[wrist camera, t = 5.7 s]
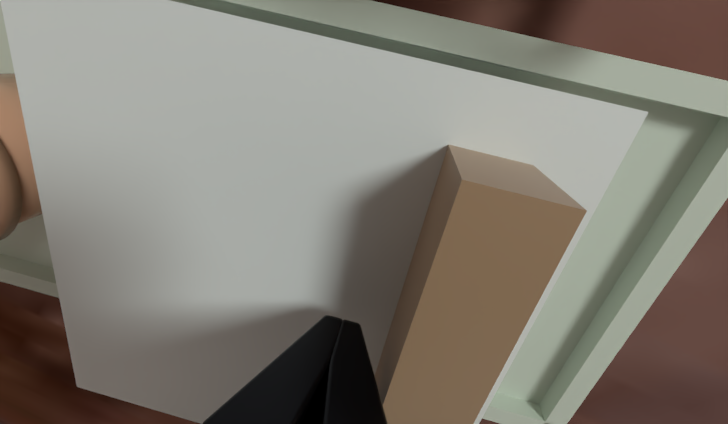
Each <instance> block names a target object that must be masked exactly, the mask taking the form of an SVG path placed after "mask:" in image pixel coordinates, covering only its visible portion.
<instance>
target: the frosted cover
mask: <svg viewBox="0 0 728 424" xmlns="http://www.w3.org/2000/svg"><path fill="white" fill-rule="evenodd" d="M0 2H1V7H2V12H3V17H4V22H5V28H6V33H7V38H8V43H9V48H10V53H11V58H12V63H13V68H14V73H15V78H16V83H17V88H18V93H19V98H20V103H21V108H22V113H23V118H24V123H25V128H26V133H27V138H28V143H29V148H30V154H31V159H32V164H33V169H34V174H35V179H36V184H37V189H38V194H39V199H40V204H41V209H42V214H43V219H44V224H45V229H46V234H47V239H48V244H49V249H50V254H51V259H52V264H53V269H54V274H55V280H56V285H57V290H58V295H59V300H60V305H61V310H62V315H63V320H64V325H65V330H66V335H67V340H68V345H69V350H70V355H71V360H72V365H73V370H74V375H75V380H76V385H77V387H79V388H83V389H86V390H89V391H93V392H96V393H99V394H103V395H106V396H109V397H113V398H116V399H120V400H123V401H126V402H130V403H133V404H136V405H140V406H143V407H146V408H150V409H153V410H157V411H160V412H163V413H167V414H170V415H173V416H177V417H180V418H183V419H187V420H190V421H193V422H197V423H200V424H203V422H204V421H205V420H206V419H207V418H208V417H209V416H210V415H212V414H213V413H214V412H215V411H216V410H217V409H218V408H220V407H221V406H222V405H223V404H224V403H225V402H226V401H228V400H229V399H230V398H231V397H232V396H233V395H234V394H236V393H237V392H238V391H239V390H240V389H241V388H242V387H244V386H245V385H246V384H247V383H248V382H249V381H250V380H252V379H253V378H254V377H255V376H256V375H257V374H258V373H260V372H261V371H262V370H263V369H264V368H265V367H266V366H268V365H269V364H270V363H271V362H272V361H273V360H274V359H276V358H277V357H278V356H279V355H280V354H281V353H282V352H284V351H285V350H286V349H287V348H288V347H289V346H290V345H292V344H293V343H294V342H295V341H296V340H297V339H298V338H300V337H301V336H302V335H303V334H304V333H305V332H306V331H308V330H309V329H310V328H311V327H312V326H313V325H314V324H316V323H317V322H318V321H319V320H320V319H321V318H322V317H324V316H325V315H331V316H334V317H338V318H341V319H342V320H344V319H345V320H349V321H353V322H357V323H359V324H360V325H361V328H362V332H363V336H364V339H365V343H366V346H367V350H368V354H369V357H370V361H371V365H372V368H373V372H374V376H375V379H376V383H377V387H378V390H379V394H380V398H381V401H382V405H383V409H384V412H385V416H386V420H387V423H388V424H479V423H480V421H481V419H482V417H483V415H484V414H485V412H486V410H487V408H488V406H489V404H490V403H491V401H492V399H493V397H494V395H495V393H496V392H497V390H498V388H499V386H500V384H501V382H502V381H503V379H504V377H505V375H506V373H507V371H508V370H509V368H510V366H511V364H512V362H513V360H514V359H515V357H516V355H517V353H518V351H519V349H520V348H521V346H522V344H523V342H524V340H525V338H526V337H527V335H528V333H529V331H530V329H531V327H532V325H533V324H534V322H535V320H536V318H537V316H538V314H539V313H540V311H541V309H542V307H543V305H544V303H545V302H546V300H547V298H548V296H549V294H550V292H551V291H552V289H553V287H554V285H555V283H556V281H557V280H558V278H559V276H560V274H561V272H562V270H563V269H564V267H565V265H566V263H567V261H568V259H569V258H570V256H571V254H572V252H573V250H574V248H575V247H576V245H577V243H578V241H579V239H580V237H581V235H582V234H583V232H584V230H585V228H586V226H587V224H588V223H589V221H590V219H591V217H592V215H593V213H594V212H595V210H596V208H597V206H598V204H599V202H600V201H601V199H602V197H603V195H604V193H605V191H606V190H607V188H608V186H609V184H610V182H611V180H612V179H613V177H614V175H615V173H616V171H617V169H618V168H619V166H620V164H621V162H622V160H623V158H624V157H625V155H626V153H627V151H628V149H629V147H630V146H631V144H632V142H633V140H634V138H635V136H636V134H637V133H638V131H639V129H640V127H641V125H642V123H643V122H644V120H645V118H646V116H647V114H648V112H647V111H642V110H638V109H634V108H629V107H625V106H621V105H617V104H612V103H608V102H604V101H599V100H595V99H591V98H587V97H582V96H578V95H574V94H569V93H565V92H561V91H557V90H552V89H548V88H544V87H539V86H535V85H531V84H527V83H522V82H518V81H514V80H509V79H505V78H501V77H497V76H492V75H488V74H484V73H479V72H475V71H471V70H467V69H462V68H458V67H454V66H449V65H445V64H441V63H437V62H432V61H428V60H424V59H419V58H415V57H411V56H407V55H402V54H398V53H394V52H389V51H385V50H381V49H376V48H372V47H368V46H364V45H359V44H355V43H351V42H346V41H342V40H338V39H334V38H329V37H325V36H321V35H316V34H312V33H308V32H304V31H299V30H295V29H291V28H286V27H282V26H278V25H274V24H269V23H265V22H261V21H256V20H252V19H248V18H244V17H239V16H235V15H231V14H226V13H222V12H218V11H214V10H209V9H205V8H201V7H196V6H192V5H188V4H184V3H179V2H175V1H171V0H0Z"/></svg>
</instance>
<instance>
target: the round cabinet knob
mask: <svg viewBox="0 0 728 424" xmlns="http://www.w3.org/2000/svg"><path fill="white" fill-rule="evenodd" d="M41 214H42V209H41V204H40V199H39V194H38V189H37V184H36V179H35V174H34V169H33V164H32V159H31V154H30V148H29V143H28V138H27V133H26V128H25V123H24V118H23V113H22V108H21V103H20V98H19V93H18V88H17V83H16V78H15V73H0V240H3V239H5V238H6V237H7V236H9V235H10V234H11V233H12V232H13V231H14V230H15V228H16V226H17V225H18V223H21V222H23V221H26V220H28V219H31V218H34V217H36V216H39V215H41Z"/></svg>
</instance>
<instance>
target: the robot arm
mask: <svg viewBox="0 0 728 424" xmlns="http://www.w3.org/2000/svg"><path fill="white" fill-rule="evenodd" d="M203 424H388V423H387V420H386V416H385V412H384V409H383V405H382V401H381V398H380V394H379V390H378V387H377V383H376V379H375V376H374V372H373V368H372V365H371V361H370V357H369V354H368V350H367V346H366V343H365V339H364V336H363V332H362V328H361V325H360V324H359V323H357V322H353V321H349V320H345V319H344V320H342V319H341V318H338V317H334V316H331V315H325V316H324V317H322V318H321V319H320V320H319V321H318V322H317V323H316V324H314V325H313V326H312V327H311V328H310V329H309V330H308V331H306V332H305V333H304V334H303V335H302V336H301V337H300V338H298V339H297V340H296V341H295V342H294V343H293V344H292V345H290V346H289V347H288V348H287V349H286V350H285V351H284V352H282V353H281V354H280V355H279V356H278V357H277V358H276V359H274V360H273V361H272V362H271V363H270V364H269V365H268V366H266V367H265V368H264V369H263V370H262V371H261V372H260V373H258V374H257V375H256V376H255V377H254V378H253V379H252V380H250V381H249V382H248V383H247V384H246V385H245V386H244V387H242V388H241V389H240V390H239V391H238V392H237V393H236V394H234V395H233V396H232V397H231V398H230V399H229V400H228V401H226V402H225V403H224V404H223V405H222V406H221V407H220V408H218V409H217V410H216V411H215V412H214V413H213V414H212V415H210V416H209V417H208V418H207V419H206V420H205V421H204V422H203Z"/></svg>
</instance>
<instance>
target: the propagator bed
mask: <svg viewBox="0 0 728 424" xmlns="http://www.w3.org/2000/svg"><path fill="white" fill-rule="evenodd" d="M171 1H175V2H179V3H184V4H188V5H192V6H196V7H201V8H205V9H209V10H214V11H218V12H222V13H226V14H231V15H235V16H239V17H244V18H248V19H252V20H256V21H261V22H265V23H269V24H274V25H278V26H282V27H286V28H291V29H295V30H299V31H304V32H308V33H312V34H316V35H321V36H325V37H329V38H334V39H338V40H342V41H346V42H351V43H355V44H359V45H364V46H368V47H372V48H376V49H381V50H385V51H389V52H394V53H398V54H402V55H407V56H411V57H415V58H419V59H424V60H428V61H432V62H437V63H441V64H445V65H449V66H454V67H458V68H462V69H467V70H471V71H475V72H479V73H484V74H488V75H492V76H497V77H501V78H505V79H509V80H514V81H518V82H522V83H527V84H531V85H535V86H539V87H544V88H548V89H552V90H557V91H561V92H565V93H569V94H574V95H578V96H582V97H587V98H591V99H595V100H599V101H604V102H608V103H612V104H617V105H621V106H625V107H629V108H634V109H638V110H642V111H647V112H648V114H647V116H646V118H645V120H644V122H643V123H642V125H641V127H640V129H639V131H638V133H637V134H636V136H635V138H634V140H633V142H632V144H631V146H630V147H629V149H628V151H627V153H626V155H625V157H624V158H623V160H622V162H621V164H620V166H619V168H618V169H617V171H616V173H615V175H614V177H613V179H612V180H611V182H610V184H609V186H608V188H607V190H606V191H605V193H604V195H603V197H602V199H601V201H600V202H599V204H598V206H597V208H596V210H595V212H594V213H593V215H592V217H591V219H590V221H589V223H588V224H587V226H586V228H585V230H584V232H583V234H582V235H581V237H580V239H579V241H578V243H577V245H576V247H575V248H574V250H573V252H572V254H571V256H570V258H569V259H568V261H567V263H566V265H565V267H564V269H563V270H562V272H561V274H560V276H559V278H558V280H557V281H556V283H555V285H554V287H553V289H552V291H551V292H550V294H549V296H548V298H547V300H546V302H545V303H544V305H543V307H542V309H541V311H540V313H539V314H538V316H537V318H536V320H535V322H534V324H533V325H532V327H531V329H530V331H529V333H528V335H527V337H526V338H525V340H524V342H523V344H522V346H521V348H520V349H519V351H518V353H517V355H516V357H515V359H514V360H513V362H512V364H511V366H510V368H509V370H508V371H507V373H506V375H505V377H504V379H503V381H502V382H501V384H500V386H499V388H498V390H497V392H496V393H495V395H494V397H493V399H492V401H491V403H490V404H489V406H488V408H487V410H486V412H485V414H484V415H483V417H482V418H483V419H486V420H490V421H493V422H497V423H500V424H567V423H568V422H569V420H570V419H571V417H572V416H573V415H574V413H575V412H576V410H577V409H578V408H579V406H580V405H581V403H582V402H583V401H584V399H585V398H586V396H587V395H588V394H589V392H590V391H591V389H592V388H593V386H594V385H595V384H596V382H597V381H598V379H599V378H600V377H601V375H602V374H603V372H604V371H605V370H606V368H607V367H608V365H609V364H610V363H611V361H612V360H613V358H614V357H615V355H616V354H617V353H618V351H619V350H620V348H621V347H622V346H623V344H624V343H625V341H626V340H627V339H628V337H629V336H630V334H631V333H632V332H633V330H634V329H635V327H636V326H637V324H638V323H639V322H640V320H641V319H642V317H643V316H644V315H645V313H646V312H647V310H648V309H649V308H650V306H651V305H652V303H653V302H654V301H655V299H656V298H657V296H658V295H659V294H660V292H661V291H662V289H663V288H664V286H665V285H666V284H667V282H668V281H669V279H670V278H671V277H672V275H673V274H674V272H675V271H676V270H677V268H678V267H679V265H680V264H681V263H682V261H683V260H684V258H685V257H686V255H687V254H688V253H689V251H690V250H691V248H692V247H693V246H694V244H695V243H696V241H697V240H698V239H699V237H700V236H701V234H702V233H703V232H704V230H705V229H706V227H707V226H708V225H709V223H710V222H711V220H712V219H713V217H714V216H715V215H716V213H717V212H718V210H719V209H720V208H721V206H722V205H723V203H724V202H725V201H726V199H727V198H728V81H725V80H721V79H717V78H712V77H708V76H703V75H699V74H694V73H690V72H686V71H681V70H677V69H672V68H668V67H664V66H659V65H655V64H650V63H646V62H641V61H637V60H633V59H628V58H624V57H619V56H615V55H610V54H606V53H602V52H597V51H593V50H588V49H584V48H580V47H575V46H571V45H566V44H562V43H557V42H553V41H549V40H544V39H540V38H535V37H531V36H526V35H522V34H518V33H513V32H509V31H504V30H500V29H496V28H491V27H487V26H482V25H478V24H473V23H469V22H465V21H460V20H456V19H451V18H447V17H442V16H438V15H434V14H429V13H425V12H420V11H416V10H412V9H407V8H403V7H398V6H394V5H389V4H385V3H381V2H376V1H372V0H171ZM0 73H14V68H13V63H12V58H11V53H10V48H9V43H8V38H7V33H6V28H5V22H4V17H3V12H2V7H1V2H0ZM0 281H1V282H4V283H8V284H11V285H15V286H18V287H22V288H26V289H29V290H33V291H36V292H40V293H43V294H47V295H50V296H54V297H57V298H59V295H58V290H57V285H56V280H55V274H54V269H53V264H52V259H51V254H50V249H49V244H48V239H47V234H46V229H45V224H44V219H43V214H41V215H39V216H36V217H34V218H31V219H28V220H26V221H23V222H21V223H18V225H17V226H16V228H15V230H14V231H13V232H12V233H11V234H10V235H9V236H7V237H6V238H5V239H3V240H0Z"/></svg>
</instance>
